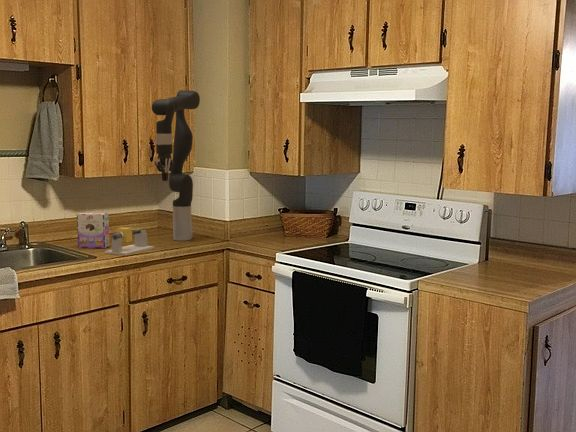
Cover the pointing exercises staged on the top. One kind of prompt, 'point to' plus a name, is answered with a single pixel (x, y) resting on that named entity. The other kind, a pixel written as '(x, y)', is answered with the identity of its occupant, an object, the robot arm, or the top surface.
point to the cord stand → (131, 249)
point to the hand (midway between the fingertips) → (165, 180)
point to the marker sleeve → (126, 234)
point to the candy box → (93, 230)
